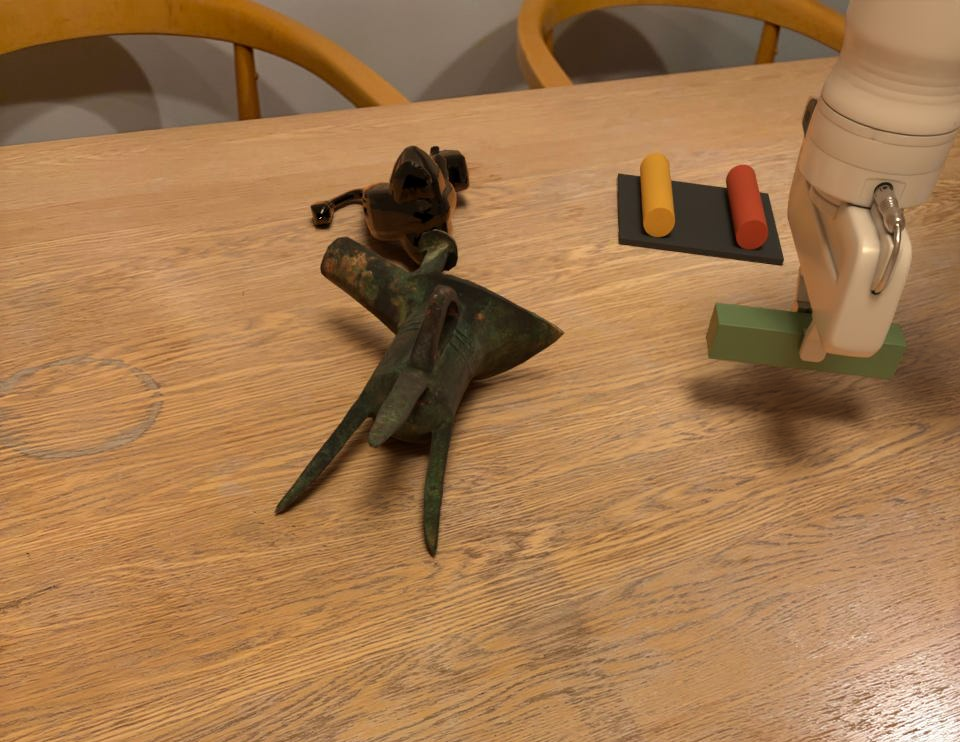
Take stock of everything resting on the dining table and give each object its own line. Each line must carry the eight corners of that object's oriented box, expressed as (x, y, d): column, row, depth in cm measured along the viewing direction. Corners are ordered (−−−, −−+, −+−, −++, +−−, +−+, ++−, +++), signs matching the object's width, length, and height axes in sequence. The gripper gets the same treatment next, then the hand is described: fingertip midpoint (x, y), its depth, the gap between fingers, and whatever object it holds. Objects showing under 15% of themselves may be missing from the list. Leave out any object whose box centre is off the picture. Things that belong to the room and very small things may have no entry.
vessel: (485, 581, 68) (572, 350, 82) (466, 450, 59) (568, 215, 73) (231, 541, 73) (355, 329, 87) (177, 414, 64) (325, 200, 78)
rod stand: (766, 198, 108) (777, 164, 105) (782, 265, 99) (794, 230, 96) (617, 178, 108) (623, 143, 105) (618, 243, 98) (626, 207, 96)
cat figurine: (308, 292, 92) (354, 232, 106) (457, 271, 89) (484, 213, 103) (276, 176, 86) (329, 129, 100) (434, 150, 83) (467, 106, 97)
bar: (884, 358, 79) (899, 323, 77) (892, 380, 77) (907, 345, 75) (705, 337, 79) (715, 301, 77) (708, 358, 77) (718, 323, 75)
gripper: (959, 236, 59) (871, 428, 70) (891, 97, 73) (826, 275, 83) (852, 224, 59) (780, 418, 70) (804, 86, 73) (749, 266, 83)
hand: (804, 339), depth 77 cm, fingers closed on bar, 3 cm apart
